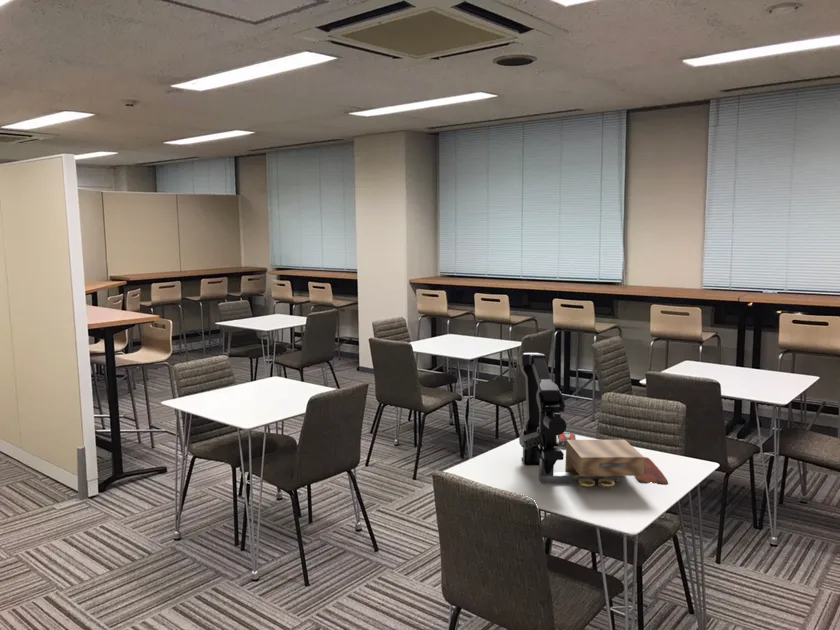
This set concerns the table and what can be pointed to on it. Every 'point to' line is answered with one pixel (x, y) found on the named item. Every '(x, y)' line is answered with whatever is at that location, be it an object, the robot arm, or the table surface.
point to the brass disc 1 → (586, 483)
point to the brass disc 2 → (606, 483)
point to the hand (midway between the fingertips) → (546, 472)
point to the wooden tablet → (651, 473)
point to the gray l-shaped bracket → (565, 476)
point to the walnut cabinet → (603, 458)
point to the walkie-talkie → (564, 439)
